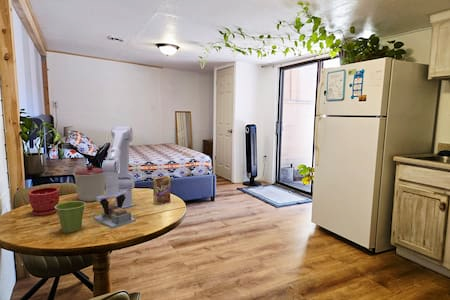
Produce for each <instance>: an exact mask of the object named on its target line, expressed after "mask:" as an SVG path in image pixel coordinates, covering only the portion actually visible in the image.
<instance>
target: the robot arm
mask: <svg viewBox="0 0 450 300" xmlns="http://www.w3.org/2000/svg"><path fill="white" fill-rule="evenodd" d="M110 133H111V137H112V146H111V147H110V148H109V149H108V152H107V155H106V159H105V160H104V161H103V162H102V165H101V167H102V168H101V169H103V172H104V176H105V193H104V195H101V196H98V197H96V202H99V204H100V205H101V206H102V207H101V208H102V209H103V213H104V212H105V214H106V215H108V214H109V211H108V206H109V205H110V201H109V200H110V199H113V198H114V199H115V203H114V204H113V205H115V206H117V207H120V208H122V209H125V208H129V207H133V206H135V205H136V203H134V202H133V194H132V193H133V189H134V188H135V186H136V185H135V176H134V174H133V173H132V172H130V143H131V142H133V133H134V132H133V127H132V126H130V125H129V126H116V125H115V126H114V125H113V126H112V127H111V129H110Z"/></svg>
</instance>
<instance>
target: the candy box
mask: <svg viewBox="0 0 450 300" xmlns="http://www.w3.org/2000/svg"><path fill="white" fill-rule="evenodd" d="M152 178H153V181H152V182H153V187H152V188H153V189H152V190H153V204H154V205H156V206H157V205H164V204H170V203H171V176H169V175H166V176H164V175H163V176H155V177H152Z"/></svg>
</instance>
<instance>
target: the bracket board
mask: <svg viewBox="0 0 450 300" xmlns="http://www.w3.org/2000/svg"><path fill="white" fill-rule="evenodd" d="M92 219H93V220H94V221H96V222H99V223H101V224H103V225H105V226H106V227H108V228H110V229H115V228H118V227H121V226H124V225H128V224H131V223H133V222H136V221H137V218H134V217H133V216H132V213H131V212H130V211H127V214H124V215H120V216H116V215H113V214H112V215H111V219H109V218H107V217H105V213H104V212H102V213H101V214H98V215H95V216H93V218H92Z"/></svg>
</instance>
